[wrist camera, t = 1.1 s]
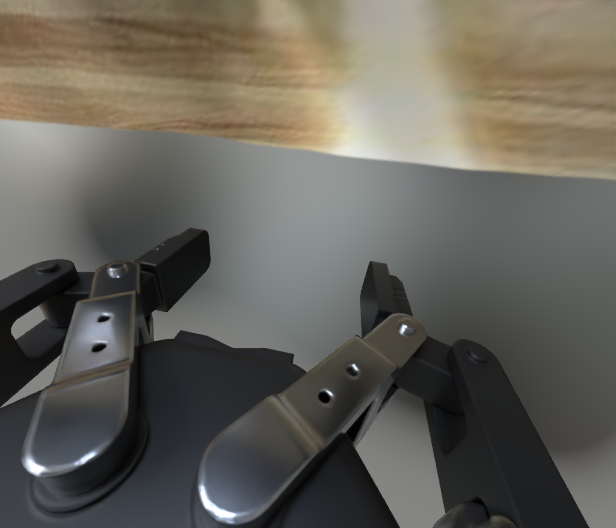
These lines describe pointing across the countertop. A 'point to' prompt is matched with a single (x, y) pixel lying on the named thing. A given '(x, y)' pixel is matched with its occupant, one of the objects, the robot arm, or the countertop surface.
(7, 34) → the countertop surface
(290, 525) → the robot arm
